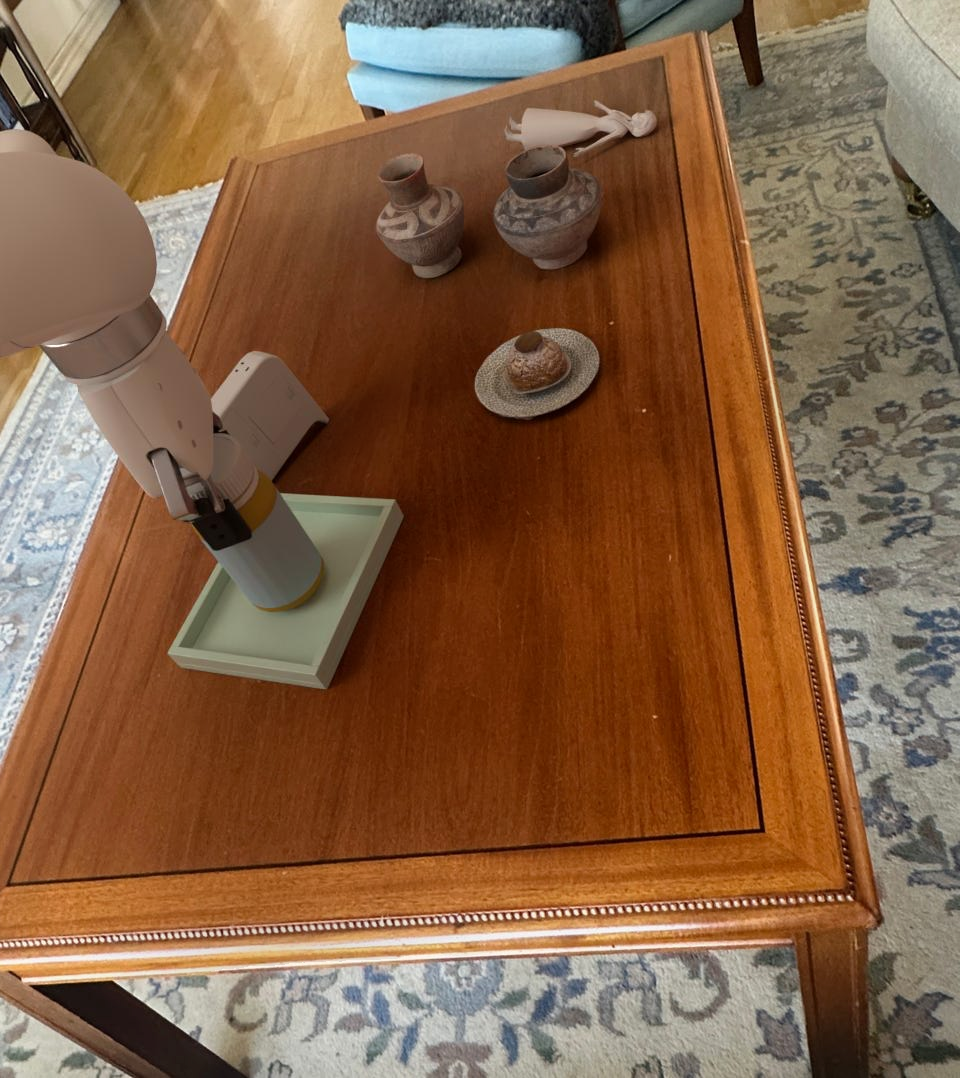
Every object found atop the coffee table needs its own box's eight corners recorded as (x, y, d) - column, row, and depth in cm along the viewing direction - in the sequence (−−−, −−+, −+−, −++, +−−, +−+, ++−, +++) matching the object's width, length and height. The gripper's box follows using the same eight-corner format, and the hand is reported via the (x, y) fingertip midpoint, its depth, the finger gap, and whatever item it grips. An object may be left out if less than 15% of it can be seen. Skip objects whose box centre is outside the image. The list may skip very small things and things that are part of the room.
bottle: (335, 547, 84) (256, 424, 73) (316, 614, 80) (229, 494, 69) (264, 552, 87) (177, 434, 76) (241, 618, 82) (145, 502, 71)
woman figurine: (517, 88, 120) (663, 76, 114) (523, 122, 124) (666, 112, 118) (491, 141, 114) (645, 132, 108) (499, 175, 117) (649, 168, 111)
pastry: (609, 406, 87) (599, 367, 84) (480, 438, 90) (465, 402, 86) (593, 323, 95) (583, 285, 92) (475, 355, 97) (461, 319, 94)
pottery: (412, 236, 115) (375, 143, 106) (621, 216, 105) (599, 111, 96) (381, 299, 108) (339, 205, 100) (600, 283, 99) (575, 177, 90)
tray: (327, 690, 77) (315, 675, 75) (180, 668, 83) (166, 653, 81) (404, 516, 86) (395, 499, 84) (267, 507, 92) (256, 491, 90)
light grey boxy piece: (226, 534, 95) (311, 414, 99) (245, 542, 93) (331, 420, 97) (154, 469, 86) (252, 340, 90) (174, 477, 84) (272, 345, 89)
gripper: (62, 278, 69) (189, 450, 82) (34, 435, 57) (187, 607, 70) (159, 239, 69) (271, 419, 82) (150, 390, 57) (284, 572, 70)
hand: (231, 505), depth 76 cm, fingers closed on bottle, 7 cm apart
